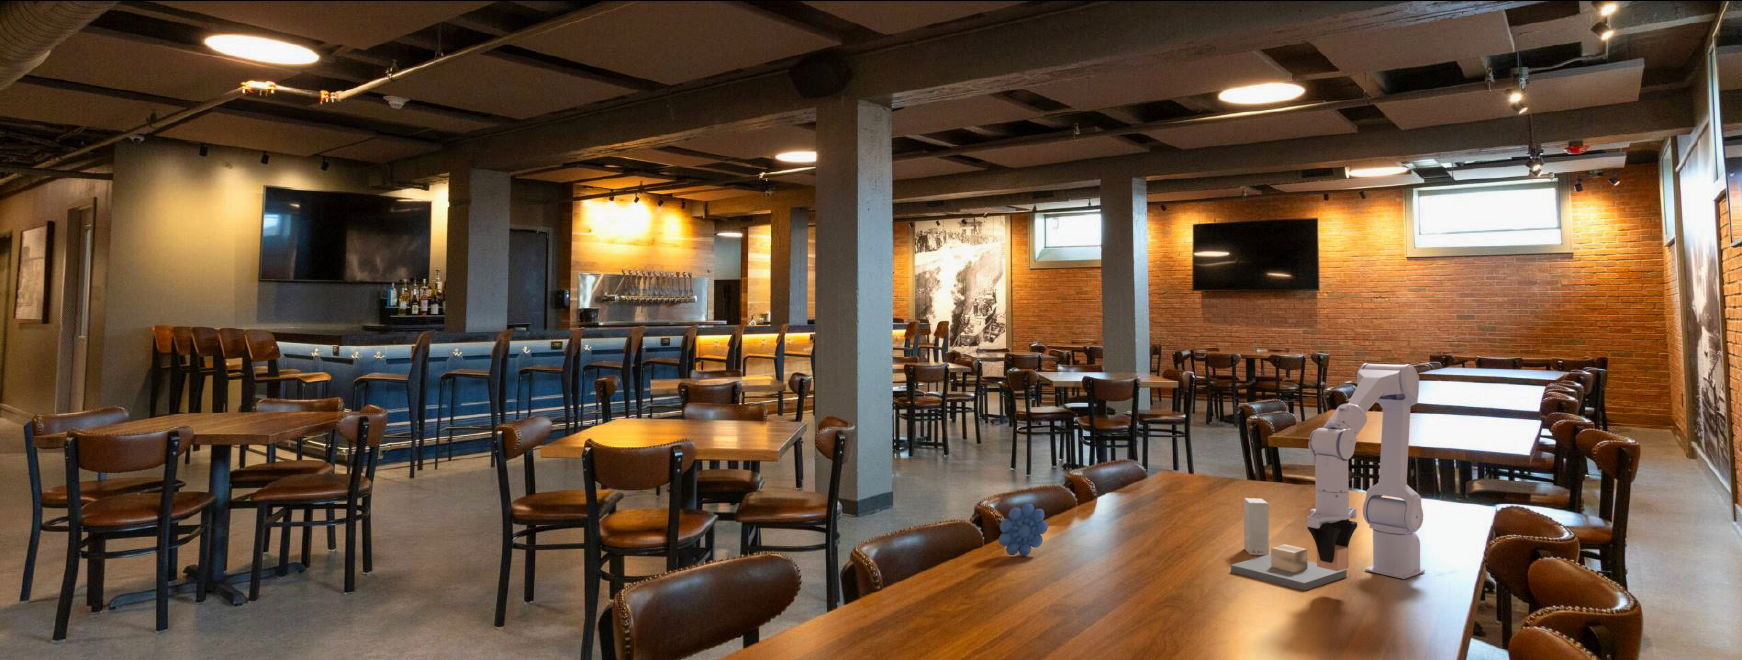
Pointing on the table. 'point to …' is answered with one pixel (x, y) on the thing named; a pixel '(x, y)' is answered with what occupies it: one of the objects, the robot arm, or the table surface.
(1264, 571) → the base board
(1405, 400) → the robot arm
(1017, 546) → the blue bead flower
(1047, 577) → the table surface
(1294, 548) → the birch block
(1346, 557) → the terracotta cube
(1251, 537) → the skincare box
